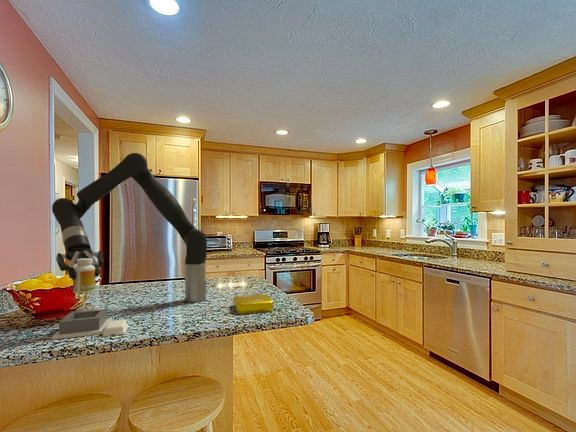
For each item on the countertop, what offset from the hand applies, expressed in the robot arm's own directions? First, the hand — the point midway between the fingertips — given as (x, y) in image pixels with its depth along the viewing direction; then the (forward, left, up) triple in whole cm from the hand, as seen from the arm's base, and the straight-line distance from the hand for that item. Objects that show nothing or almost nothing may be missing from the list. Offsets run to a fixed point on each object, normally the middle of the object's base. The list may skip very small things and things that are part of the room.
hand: (86, 276), depth 103 cm
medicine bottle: (+13, -32, -19) cm, 39 cm away
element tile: (-60, -6, -19) cm, 63 cm away
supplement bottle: (+1, -1, -6) cm, 6 cm away
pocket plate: (+1, -1, -18) cm, 18 cm away
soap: (-10, +4, -19) cm, 22 cm away
